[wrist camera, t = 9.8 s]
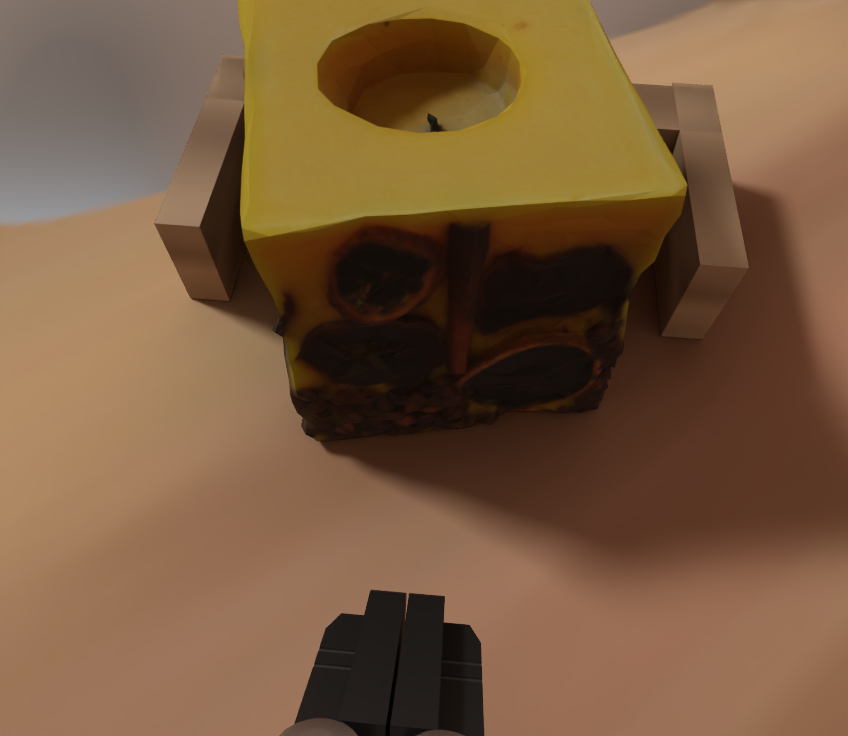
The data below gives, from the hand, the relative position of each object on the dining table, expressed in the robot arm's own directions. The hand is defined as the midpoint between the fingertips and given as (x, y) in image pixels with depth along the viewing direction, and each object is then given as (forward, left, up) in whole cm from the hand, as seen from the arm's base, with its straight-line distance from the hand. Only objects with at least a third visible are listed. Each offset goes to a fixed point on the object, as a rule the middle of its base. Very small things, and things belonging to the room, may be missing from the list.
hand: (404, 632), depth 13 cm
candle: (-4, +12, -6) cm, 14 cm away
